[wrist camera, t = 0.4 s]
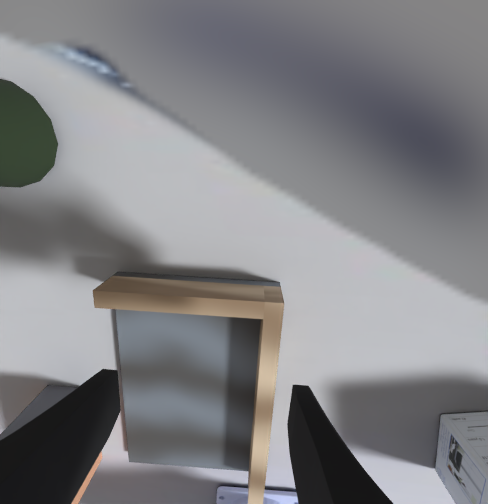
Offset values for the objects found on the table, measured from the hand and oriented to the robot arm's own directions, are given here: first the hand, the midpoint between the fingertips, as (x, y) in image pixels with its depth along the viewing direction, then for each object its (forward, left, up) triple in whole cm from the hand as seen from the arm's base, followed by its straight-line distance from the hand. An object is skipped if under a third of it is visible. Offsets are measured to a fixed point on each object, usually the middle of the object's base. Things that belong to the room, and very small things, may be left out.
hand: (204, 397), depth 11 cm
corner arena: (-8, +2, -10) cm, 13 cm away
